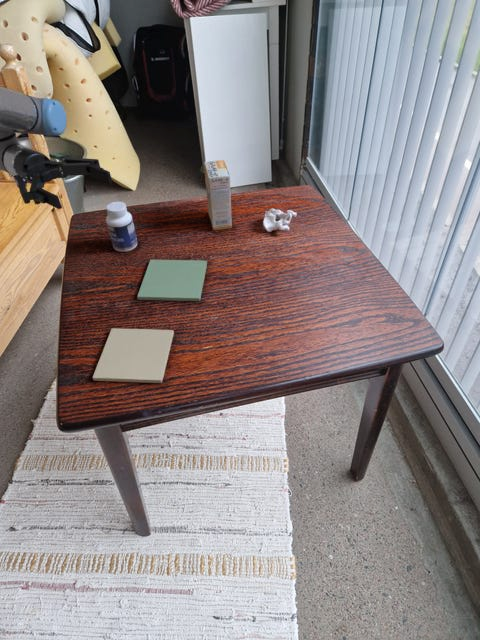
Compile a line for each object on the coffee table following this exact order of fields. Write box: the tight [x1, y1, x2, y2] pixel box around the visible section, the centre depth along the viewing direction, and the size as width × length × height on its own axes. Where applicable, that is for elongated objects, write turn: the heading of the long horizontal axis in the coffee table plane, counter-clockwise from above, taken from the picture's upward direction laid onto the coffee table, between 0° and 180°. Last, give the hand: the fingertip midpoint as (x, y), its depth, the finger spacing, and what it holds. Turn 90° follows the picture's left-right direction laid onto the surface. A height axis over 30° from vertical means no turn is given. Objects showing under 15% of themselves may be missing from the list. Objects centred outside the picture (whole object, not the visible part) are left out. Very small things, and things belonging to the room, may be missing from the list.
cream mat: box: [92, 327, 175, 384], centre depth 70 cm, size 11×11×1 cm
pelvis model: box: [262, 207, 298, 233], centre depth 97 cm, size 8×4×7 cm
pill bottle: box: [105, 201, 138, 253], centre depth 90 cm, size 5×5×10 cm
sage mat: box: [136, 259, 208, 302], centre depth 84 cm, size 12×12×1 cm
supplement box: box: [203, 159, 233, 231], centre depth 96 cm, size 8×5×13 cm, turn 11°
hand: (85, 189), depth 91 cm, fingers open, 13 cm apart
